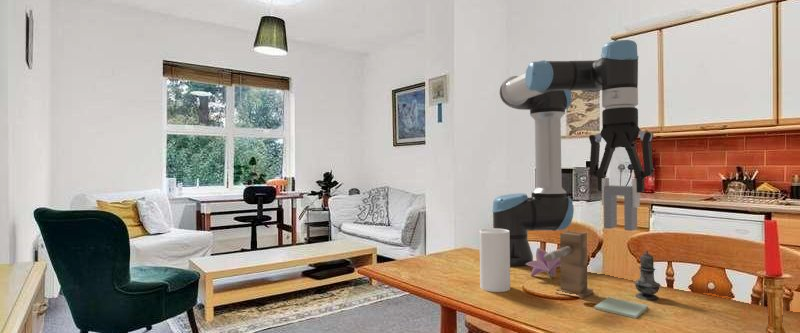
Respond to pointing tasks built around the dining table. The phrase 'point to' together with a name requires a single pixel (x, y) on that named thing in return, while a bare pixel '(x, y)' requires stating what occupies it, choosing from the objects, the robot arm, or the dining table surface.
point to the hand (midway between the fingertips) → (620, 205)
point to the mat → (621, 307)
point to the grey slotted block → (611, 207)
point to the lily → (543, 264)
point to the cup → (495, 259)
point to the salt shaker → (647, 279)
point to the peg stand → (572, 263)
